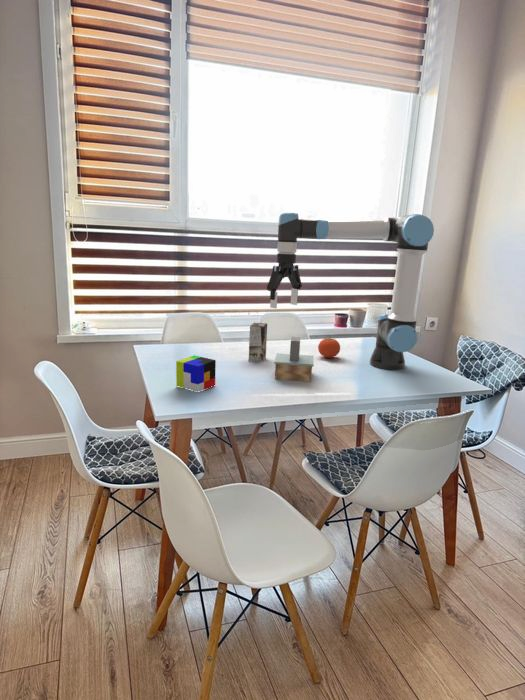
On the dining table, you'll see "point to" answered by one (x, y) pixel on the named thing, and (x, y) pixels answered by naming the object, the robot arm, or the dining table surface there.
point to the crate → (293, 372)
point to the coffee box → (257, 342)
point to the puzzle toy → (195, 373)
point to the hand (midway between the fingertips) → (283, 306)
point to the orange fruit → (329, 347)
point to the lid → (294, 355)
